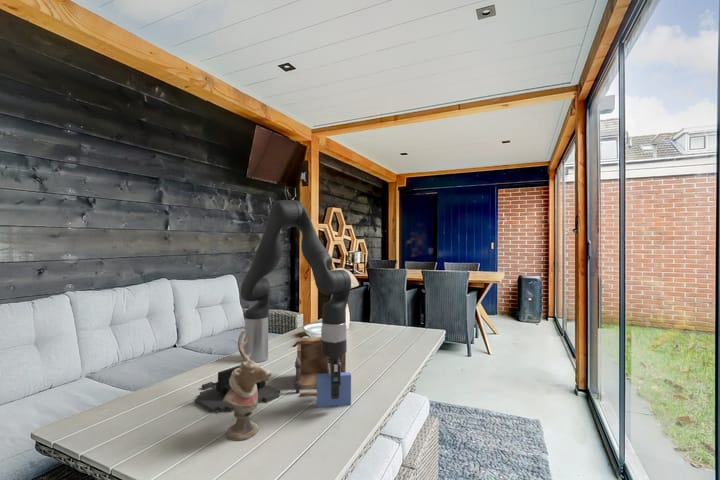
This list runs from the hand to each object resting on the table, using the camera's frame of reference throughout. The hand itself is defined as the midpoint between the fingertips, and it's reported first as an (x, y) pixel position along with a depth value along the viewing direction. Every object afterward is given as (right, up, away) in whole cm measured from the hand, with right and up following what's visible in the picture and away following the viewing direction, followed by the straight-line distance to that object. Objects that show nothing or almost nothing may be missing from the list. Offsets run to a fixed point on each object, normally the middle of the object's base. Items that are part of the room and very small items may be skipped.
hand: (333, 392), depth 105 cm
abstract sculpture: (-32, -4, +6) cm, 33 cm away
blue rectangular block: (0, -4, 0) cm, 4 cm away
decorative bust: (-21, -4, -16) cm, 27 cm away
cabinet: (-6, -4, +15) cm, 17 cm away
